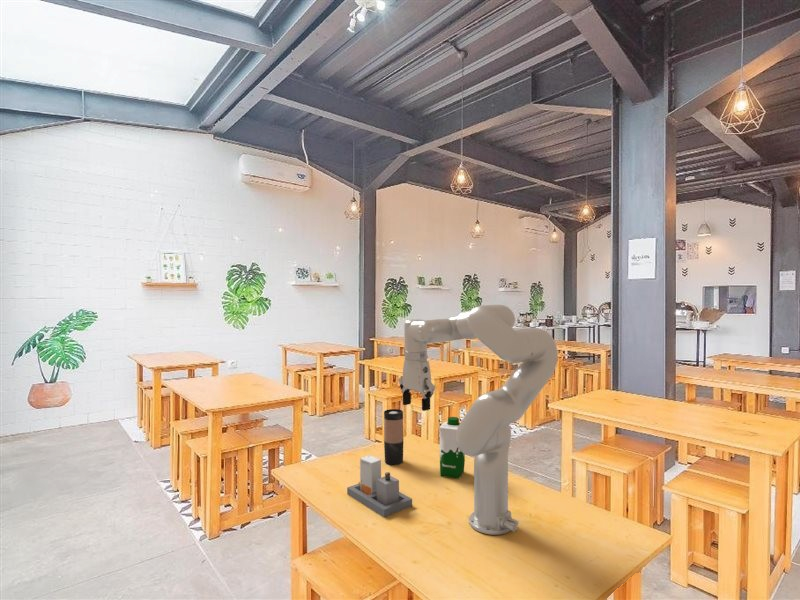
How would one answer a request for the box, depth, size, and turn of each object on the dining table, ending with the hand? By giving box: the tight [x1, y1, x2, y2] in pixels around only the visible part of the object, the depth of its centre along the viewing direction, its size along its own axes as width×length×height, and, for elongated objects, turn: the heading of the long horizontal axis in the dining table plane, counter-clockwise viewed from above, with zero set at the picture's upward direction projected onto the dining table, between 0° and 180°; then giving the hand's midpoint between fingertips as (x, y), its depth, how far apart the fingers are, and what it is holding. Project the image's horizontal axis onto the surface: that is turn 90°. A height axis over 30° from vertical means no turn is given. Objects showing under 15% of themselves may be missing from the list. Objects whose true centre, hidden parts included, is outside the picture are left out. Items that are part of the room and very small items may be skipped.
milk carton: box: [438, 416, 466, 480], centre depth 165 cm, size 9×9×20 cm
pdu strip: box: [346, 481, 413, 518], centre depth 144 cm, size 20×11×3 cm, turn 39°
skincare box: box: [359, 455, 382, 495], centre depth 147 cm, size 6×4×12 cm
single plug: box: [376, 472, 400, 506], centre depth 140 cm, size 5×5×10 cm
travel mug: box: [383, 408, 404, 466], centre depth 177 cm, size 8×8×20 cm
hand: (416, 407), depth 151 cm, fingers open, 9 cm apart
